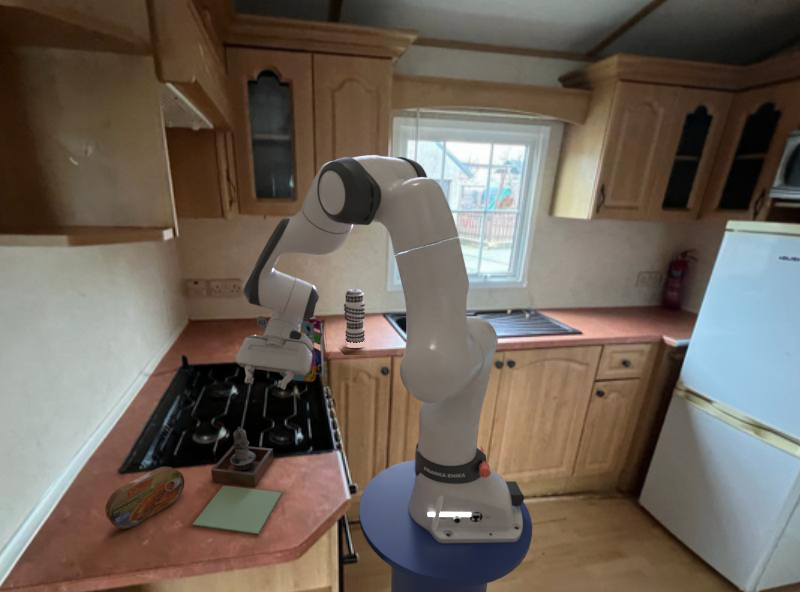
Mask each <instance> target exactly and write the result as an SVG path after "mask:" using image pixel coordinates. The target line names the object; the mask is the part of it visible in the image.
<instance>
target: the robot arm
mask: <svg viewBox="0 0 800 592" xmlns="http://www.w3.org/2000/svg"><path fill="white" fill-rule="evenodd" d="M372 223H380V224H382V226H384V227H385V228H386V230H387V232H388V234H389V237H390V240H391V245H392V249H393V250H392V251H393V254H394V259H395V262H396V266H397V270H398V274H399V278H400V283H401V286H402V291H403V295H404V301H405V315H406V324H405V325H406V326H405V327H406V331H405V332H406V333H405V334H406V337H405V348H404V353H403V355H402V359H401V361H400V365H399V375H400V380H401V382H402V385H403V386H404V388H405V390H406V391H407V392H408V393H409V394H410V395H411V396H412V397H413V398H415V399H416V400H419V401H420V402H422V403H421V404H420V409H419V412H418V435H417V443H416V446H415V451H414V460H415V463H414V469H415V474H416V475H415V481H414V486H413V489H412V493H411V495H410V498H409V500H408V510H409V513H410V515H411V517H412V518H413V519H414V520H415V521H416V522H417V523H418V524H419V525H420V526H422V527H423V528H425V529H426V530H428V531H429V532H430V533H431V535H432V536H433V537H434V538H435V540H436V541H438V542H439V543H497V542H517V541H518V540H519V538H520V537H521V535H522V531H523V519H522V513H521V510H520V507H519V506H521V504H522V502H524V501H525V496H524V493H523V492H522V490H521V488H520V487H519V484H518V482H517V481H516V480H513V481H511V480H509V481H506V479H504V477H503V475H501V474H499V473H498V472H496V471H495V470H494V469H492V468H491V466H490V464H488V463H487V455H486V453H485V450H484V448H483V446H482V445H480V449H479V448H478V447H477V446H478V436H479V426H480V419H481V413H482V408H483V405H484V401H485V397H486V394H487V390H488V386H489V382H490V377H491V373H492V372H491V371H492V368H493V362H494V358H495V355H496V352H497V348H498V344H499V338H498V334H497V331H496V329H495V328H494V326H493V325H492V324H491V323H490V322H489V321H487V320H486V319H485V318H484V317H483V318H482V317H480V316H474V315H472V316H468V315H467V303H468V302H467V300H468V292H469V288H470V279H469V276H468V271H467V267H466V263H465V258H464V254H463V250H462V245H461V240H460V237H459V231H458V229H457V225H456V221H455V218H454V216H453V211H452V210H451V207H450V204H449V202H448V199H447V197H446V194H445V192H444V190H443V188H442V186H441V185H440V184H439V182H437V181H436V180H434V178H433V179H432V178H430V177H428V175H427V173H426V170H425V169H424V168H423V166H422V165H421V164H420V163H419V162H417V161H416V160H413V159H410V158H408V157H404V156H398V157H394V156H393V157H392V156H383V155H382V156H381V155H378V154H372V155H371V154H369V155H360V156H354V157H351V156H344V157H340V158H337V159H334V160H331V161H327V162H326V163H324V164H323V165H322V166H321V167H320V168H319V170H318V171H317V173H316V175H315V176H314V178H313V180H312V182H311V184H310V185H309V187H308V190H307V192H306V195H305V198H304V200H303V203H302V205H301V208H300V209H299V211H298V212H297V213H296V214H294V215H292V216H287V217H284V218H281V220H280V221H279V223H278V224H277V225H276V226H275V228H274V230H273V232H272V234H271V235H270V237H269V238H268V239H267V242H266V243H265V245H264V246H263V249H262V251H261V253H260V255H259V256H258V258H257V261H256V262H255V264H254V265H253V267H252V268H251V269H250V270H249V271H248V273H246V276H245V278H244V281H243V285H242V293H243V296H244V297H245V299H246V300H247V301H248V303H249V304H250V305H254V306H258V307H262V308H265V309H269V310H271V311H272V314H271V316H270V318H269V320H268V321H267V327H266V330H264V333H263V335H261V334H258V335H257V334H250V335H249V336H246V337H245V338H244V340H243V343H242V344H241V346H240V348H239V349H238V351H237V354H236V356H235V363H236V364H238V365H239V366H240V367H241V368H243V369H244V372H245V378H244V383H245V384H246V385H253V384H254V382H255V378H254V377H253V375H252V373H254V372H255V370H261V371H267V372H275V373H279V372H281V373H285V374H286V376H285V377H283V378H282V379H281V380H280V379H279V380H278V382H277V385H276V386H277V388H278V389H279V390H286V389H287V385H288V383H290V382H292V381H293V380H292V379H293V377H294V374H296V375H306V374H307V373H308V372H309V370H310V367H311V362H312V353H311V351H312V350H313V347H314V348H315V344H314V345H313V344H312V342H311V341H310V339H309V338H308V337H307V336H306V335H305V334H303V333H301V332H300V328H301V324H302V322H304V321H307V320H308V319H310V318H312V317H313V316H315V315H314V314H315V310H316V305H317V303H318V301H319V299H320V294H319V292H318V290H317V288H316V286H315V285H314V284H312V283H310V282H308V281H306V280H303V279H301V278H299V277H294V276H292V275H289V274H286V273H284V272H282V271H279V270H277V269H275V266H276V265H277V264H278V262H279V260H280V258H281V257H282V256H283V255H286V254H305V255H306V254H307V255H313V256H322V255H323V256H324V255H328V254H331V253H334V252H335V251H337V250H339V249H340V248H341V247H342V246H343V244H344V243H345V241H346V240H347V238H348V237H349V235H350V233H351V231H352V229H353V226H357V225H358V226H369V225H370V224H372ZM448 536H449V537H448Z"/></svg>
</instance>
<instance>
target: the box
mask: <svg viewBox="0 0 800 592" xmlns="http://www.w3.org/2000/svg"><path fill="white" fill-rule="evenodd" d="M256 324H257V326H258V327H259V328H260V329H262V330H264V331H265V330H266V327H267V324H268V321H267V319H266V317H264V316H263V315H258V316H257V318H256ZM325 329H326V324H325V318H320V320H319V317H318V315H313V317H312V318H310V319H308V320H307V321H304V322H302V324H301V328H300V332H301V333H303V334H305V335H306V336H307V337H308V338H309V339H310V341H311V342H312V344H313V345H314V347H313V350H312V351H311V353H312V362H311V367H310V370H309V372H308V373H307V374H306V375H296V374H294V377H293V379H292V380H291V381H294V382H293V385H296V384H297V383H298V384H299V386H300V387H301V386H304V387H307V388H309V387H310V388H313V386H312V385H309V384H306V383H305V384H303V383H301V382H314V381H317V382H318V380H316V379H317V375H321V378H322V379H321V380H320V383H321V384H320V385H319V386H315V388H317V389H318V388H321V387H322V386H321V385H324V383H325V381H323V379H325V380H327V379H328V378H330V374H329V372H330V371H329V366H326V365H327V360H325V359H327V357H329V353H328V352H327V348H326V347H328V345H327V342H326V341H325V338H327V335H326V332H325ZM315 344H317V345H318V347H317V348H316V347H315ZM319 348H320V349H319ZM324 366H325V368H324ZM324 372H326V373H325V374H324ZM285 376H286V374H285V373H281V372H278V379H279V380H281V381H282V379H281V377H282V378H284V377H285ZM295 381H298V382H295ZM294 383H296V384H294ZM287 385H291V382H288V383H287ZM306 385H307V386H306Z"/></svg>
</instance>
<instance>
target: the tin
mask: <svg viewBox="0 0 800 592" xmlns="http://www.w3.org/2000/svg"><path fill="white" fill-rule="evenodd" d="M184 488H185V477H184V475H183V474H182V472H181V471H180V470H178V469H175V468H173V467H171V466H160V467H157V468H155V469H153V470H151V471H149V472H147V473H145V474H143V475H142V476H139V477H138V478H135V479H134V480H131V481H130V482H128V483H125V484H124V485H122V486H120V487H118V488H117V489H116V490H114V492H112V494H111V495H110V496H109V498H108V499H107V501H106V503H105V510H104V511H105V516H106V518H107V520H108V521H109V522H110V523H111V525H113V526H114V527H115V528H118V529H123V530H125V529H130V528H134V527H135V526H137V525H139V524H141V523H143V522H144V521H146V520H147V519H149V518H150V517H152V516H154V515H156V514H158V513H159V512H161V511H163V510H164V509H167V508H168V507H170V506H171V505H173V504H174V503H175V502H176V501H177V500H178V499H179V498H180V497H181V496H182V493H183V491H184Z"/></svg>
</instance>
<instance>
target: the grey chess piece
mask: <svg viewBox="0 0 800 592" xmlns="http://www.w3.org/2000/svg"><path fill="white" fill-rule="evenodd" d="M232 436H233V441H234V443H233V444H232V446H233V447H234V448H235V454H234V455H233V456H232V457H231V458H230V462H231V465H232V466H233V468H234V469H233V470H232V471H241V472H250V473H253V471H254V470H255V469H256V467H257V466H256V465H255V458H256V455H255V453H254V452H252V451H249V450H248V446H249V445H250V442H249V440H248V438H247V432H246V430H245V429H243V428H241V427H240V426H238V427H237V429H236V430H234V432H233V434H232Z"/></svg>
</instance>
